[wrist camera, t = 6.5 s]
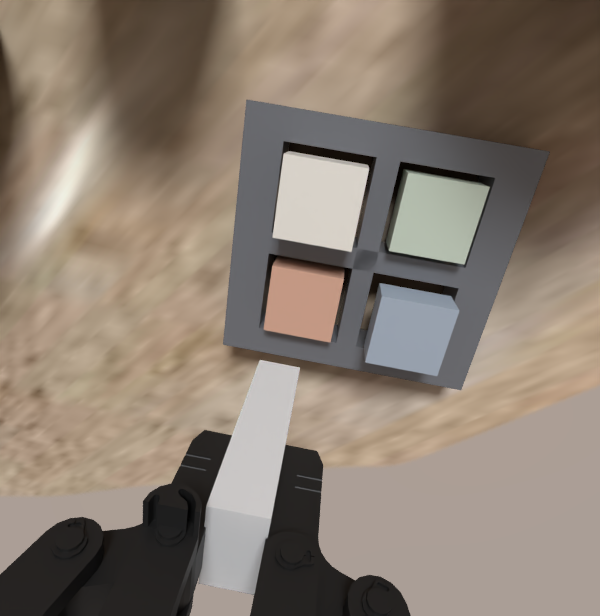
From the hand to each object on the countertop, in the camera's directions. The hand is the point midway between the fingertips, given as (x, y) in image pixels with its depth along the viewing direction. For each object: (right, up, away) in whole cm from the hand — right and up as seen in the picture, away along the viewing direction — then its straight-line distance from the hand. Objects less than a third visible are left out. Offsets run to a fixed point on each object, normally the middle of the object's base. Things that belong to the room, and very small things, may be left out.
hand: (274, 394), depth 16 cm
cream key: (+2, +9, +7) cm, 12 cm away
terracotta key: (+1, +5, +11) cm, 12 cm away
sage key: (+8, +9, +9) cm, 15 cm away
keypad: (+5, +7, +10) cm, 13 cm away
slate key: (+7, +3, +10) cm, 12 cm away
